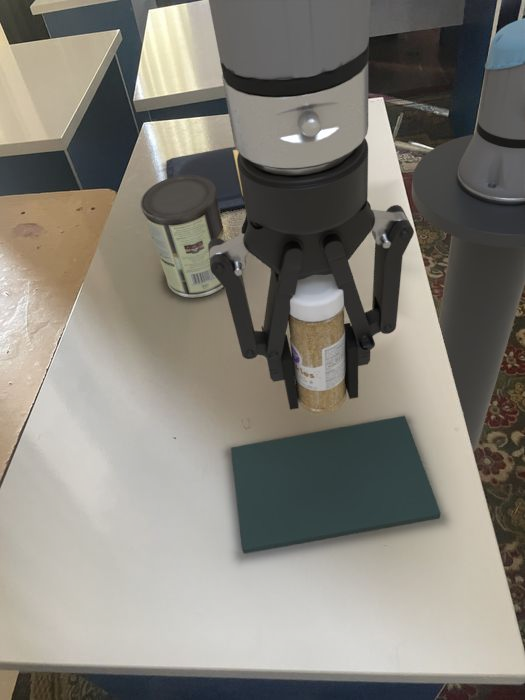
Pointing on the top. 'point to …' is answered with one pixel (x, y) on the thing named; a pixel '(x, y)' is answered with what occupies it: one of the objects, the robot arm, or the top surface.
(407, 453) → the dark green mat
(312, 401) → the sprinkles bottle
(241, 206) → the dark blue book
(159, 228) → the coffee can
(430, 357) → the top surface
